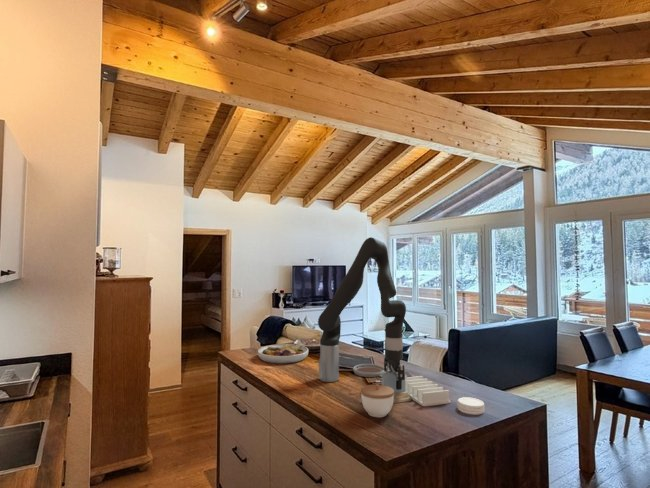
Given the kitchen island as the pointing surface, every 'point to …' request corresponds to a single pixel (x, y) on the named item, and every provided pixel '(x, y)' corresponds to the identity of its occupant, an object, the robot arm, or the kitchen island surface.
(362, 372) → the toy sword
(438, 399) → the dish rack
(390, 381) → the grey board
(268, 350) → the bowl
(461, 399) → the coaster
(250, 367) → the kitchen island surface
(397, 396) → the plate stand
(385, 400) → the lidded bowl
